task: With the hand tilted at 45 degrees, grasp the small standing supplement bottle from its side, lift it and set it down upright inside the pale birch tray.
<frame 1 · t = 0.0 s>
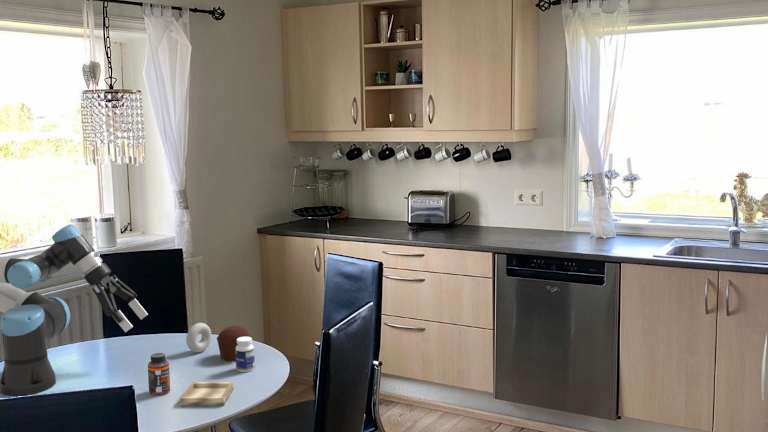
hand: (137, 323, 234), 15 cm above the table, tool tilted 35°, fingers open, 13 cm apart
birch tray: (207, 397, 214), on the table
supplement bottle: (159, 393, 218), on the table
donut: (199, 352, 254), on the table
muffin: (235, 357, 248), on the table
pill bottle: (245, 369, 236), on the table
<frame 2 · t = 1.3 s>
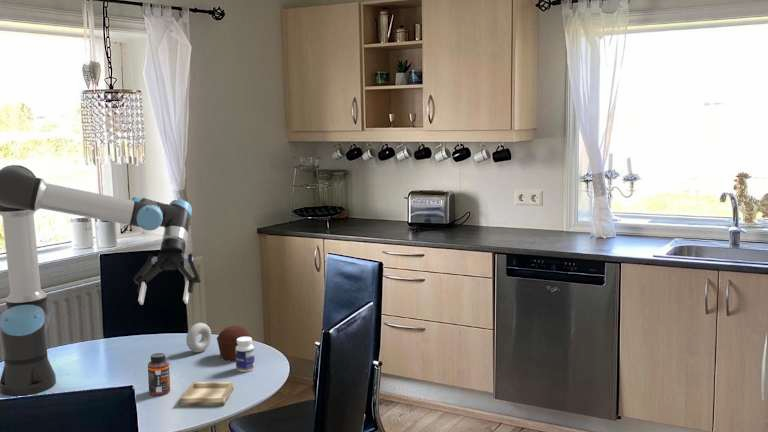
hand: (162, 302, 227), 23 cm above the table, tool tilted 45°, fingers open, 13 cm apart
nothing on the table moved.
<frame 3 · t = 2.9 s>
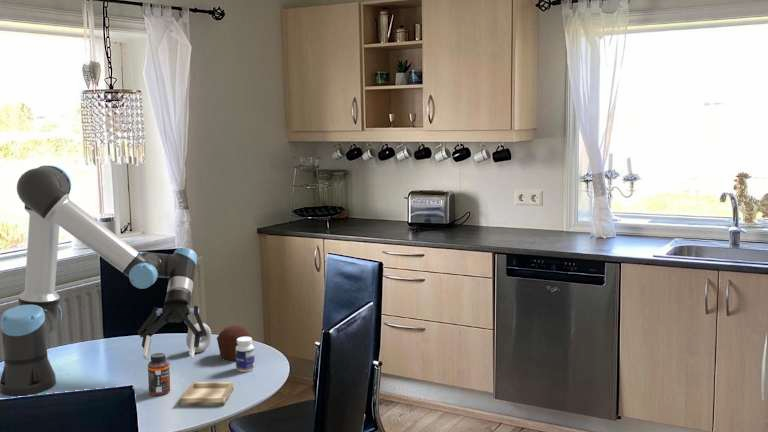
hand: (168, 357, 221), 9 cm above the table, tool tilted 45°, fingers open, 13 cm apart
nothing on the table moved.
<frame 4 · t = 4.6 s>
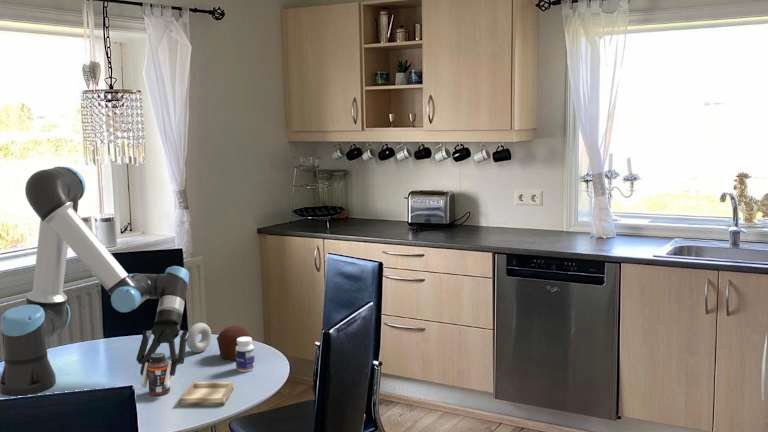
hand: (155, 385, 214), 3 cm above the table, tool tilted 45°, fingers closed on supplement bottle, 6 cm apart
supplement bottle: (159, 392, 218), on the table, touching gripper
everything else where it was.
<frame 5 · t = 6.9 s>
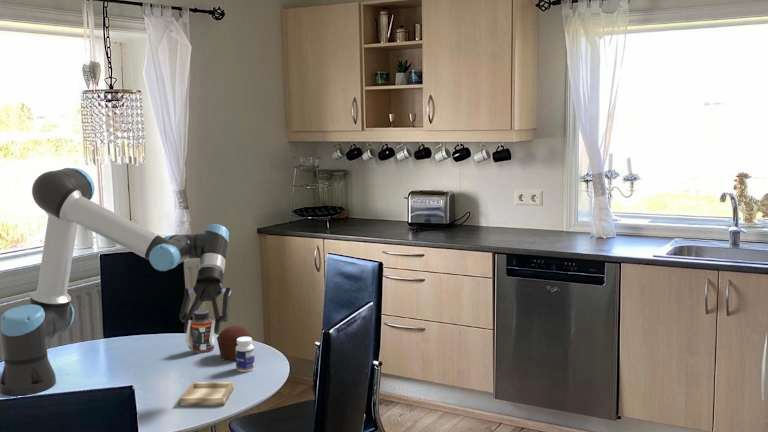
hand: (199, 343, 208), 17 cm above the table, tool tilted 45°, fingers closed on supplement bottle, 6 cm apart
supplement bottle: (203, 351, 212), point 13 cm above the table, touching gripper
everything else where it was.
when the fingers open (6 cm above the table, at t = 9.3 s): supplement bottle drops 1 cm, resting on birch tray.
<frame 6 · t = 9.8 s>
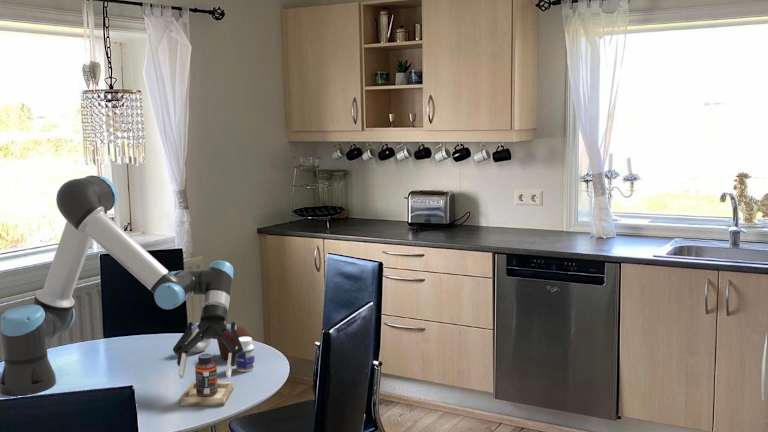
hand: (204, 376, 210), 7 cm above the table, tool tilted 45°, fingers open, 13 cm apart
supplement bottle: (207, 394, 214), point 1 cm above the table, touching birch tray
everything else where it was.
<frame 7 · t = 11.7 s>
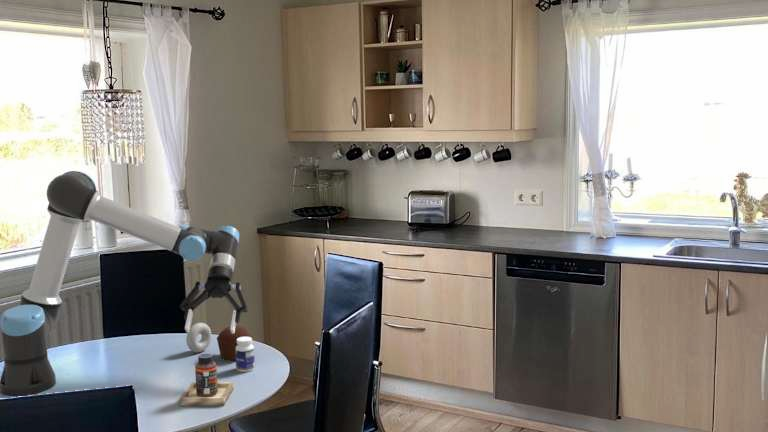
hand: (209, 331, 225), 15 cm above the table, tool tilted 45°, fingers open, 13 cm apart
nothing on the table moved.
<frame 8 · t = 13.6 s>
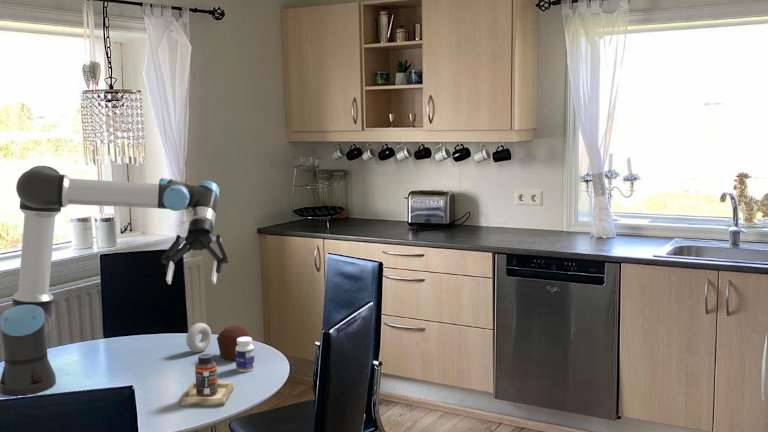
hand: (190, 281, 226), 30 cm above the table, tool tilted 45°, fingers open, 13 cm apart
nothing on the table moved.
at the end: supplement bottle inside the target area on the birch tray (0.2 cm from its centre), point 0.8 cm above the birch tray's base; supplement bottle tilted 0°; the gripper is holding nothing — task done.
